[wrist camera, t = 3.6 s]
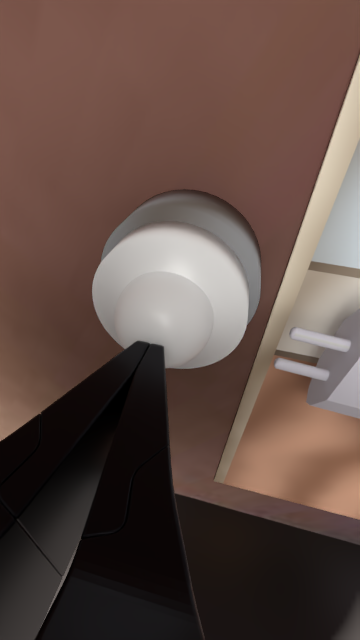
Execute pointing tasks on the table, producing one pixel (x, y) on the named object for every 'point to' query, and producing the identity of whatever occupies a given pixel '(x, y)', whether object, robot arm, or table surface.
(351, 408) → the charger
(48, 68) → the table surface
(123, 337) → the dome
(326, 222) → the game board
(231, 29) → the table surface
